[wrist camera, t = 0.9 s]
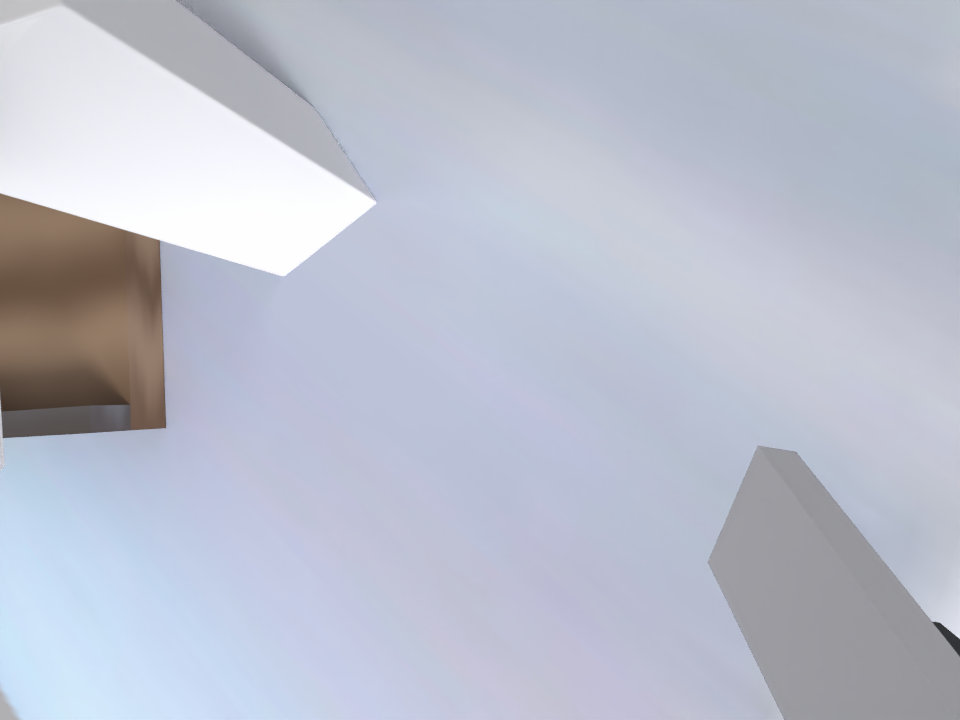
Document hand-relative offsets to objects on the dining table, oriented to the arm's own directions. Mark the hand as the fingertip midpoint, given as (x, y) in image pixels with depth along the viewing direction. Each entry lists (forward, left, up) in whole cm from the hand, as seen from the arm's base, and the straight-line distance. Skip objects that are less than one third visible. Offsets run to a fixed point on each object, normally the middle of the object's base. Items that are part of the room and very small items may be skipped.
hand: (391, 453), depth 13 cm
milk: (-12, -12, -20) cm, 26 cm away
